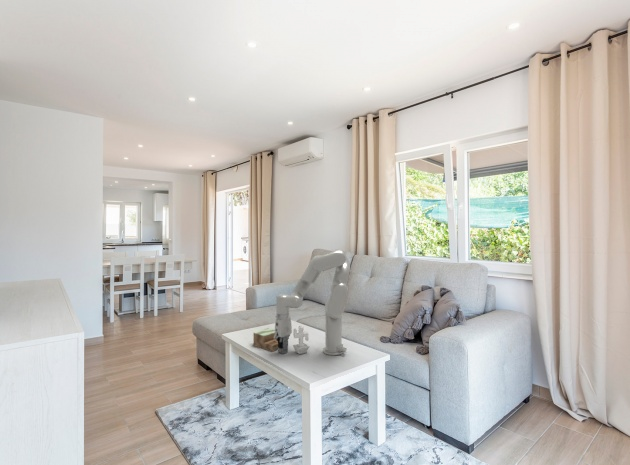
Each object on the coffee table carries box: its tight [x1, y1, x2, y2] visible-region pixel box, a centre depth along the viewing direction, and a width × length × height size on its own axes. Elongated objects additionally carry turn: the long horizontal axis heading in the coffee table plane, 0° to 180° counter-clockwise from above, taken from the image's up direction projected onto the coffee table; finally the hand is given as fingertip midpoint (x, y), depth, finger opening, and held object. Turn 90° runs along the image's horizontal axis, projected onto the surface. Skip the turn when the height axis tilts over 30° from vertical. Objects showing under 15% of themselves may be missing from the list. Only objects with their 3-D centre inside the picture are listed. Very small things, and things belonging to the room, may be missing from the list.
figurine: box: [292, 325, 310, 355], centre depth 195 cm, size 7×9×15 cm
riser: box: [253, 327, 278, 352], centre depth 206 cm, size 17×12×8 cm
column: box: [277, 335, 289, 355], centre depth 195 cm, size 4×4×12 cm
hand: (283, 346), depth 195 cm, fingers closed on column, 4 cm apart
